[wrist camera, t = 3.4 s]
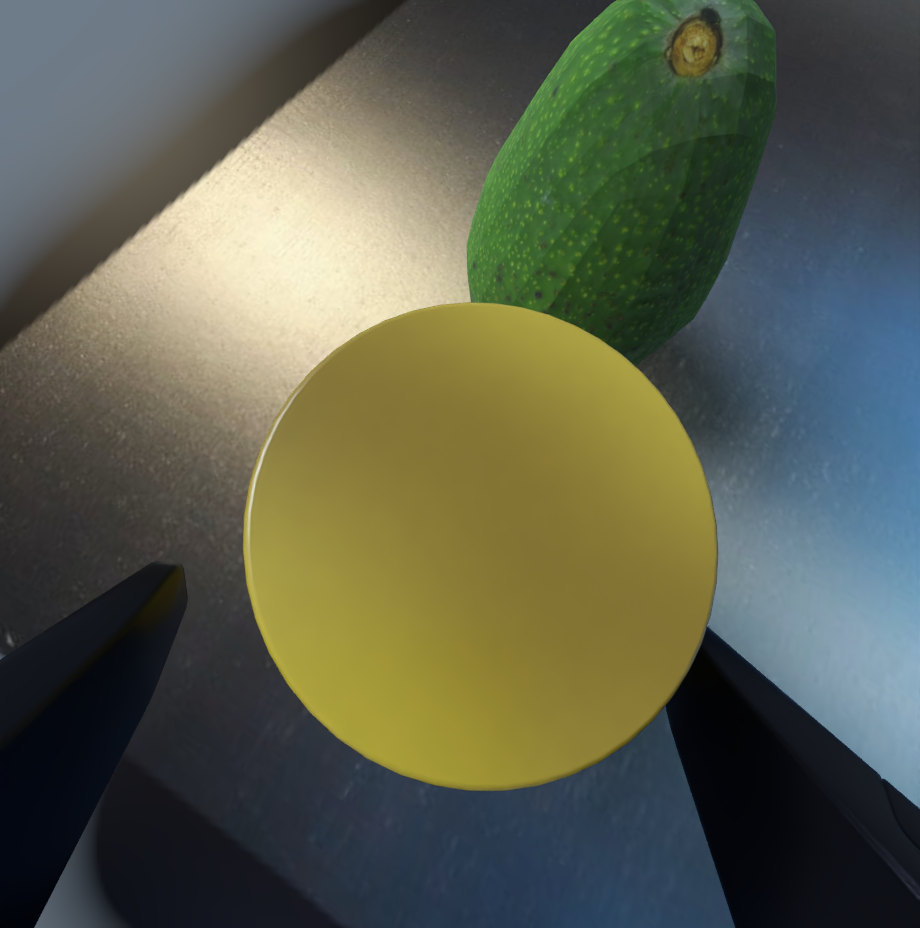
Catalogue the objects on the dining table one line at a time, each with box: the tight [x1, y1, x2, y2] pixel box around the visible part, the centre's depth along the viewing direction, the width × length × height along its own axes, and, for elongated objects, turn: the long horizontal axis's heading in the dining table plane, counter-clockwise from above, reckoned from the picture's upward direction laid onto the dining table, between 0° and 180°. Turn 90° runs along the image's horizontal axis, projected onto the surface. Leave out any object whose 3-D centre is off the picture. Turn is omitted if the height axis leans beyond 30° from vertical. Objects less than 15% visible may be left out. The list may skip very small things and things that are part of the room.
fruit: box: [467, 0, 777, 365], centre depth 15 cm, size 8×8×12 cm
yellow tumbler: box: [243, 303, 718, 791], centre depth 11 cm, size 5×5×13 cm
